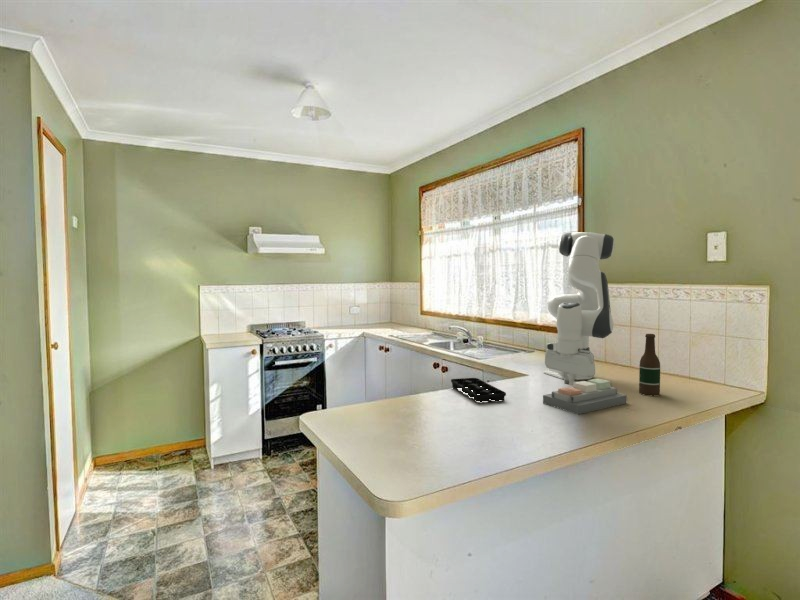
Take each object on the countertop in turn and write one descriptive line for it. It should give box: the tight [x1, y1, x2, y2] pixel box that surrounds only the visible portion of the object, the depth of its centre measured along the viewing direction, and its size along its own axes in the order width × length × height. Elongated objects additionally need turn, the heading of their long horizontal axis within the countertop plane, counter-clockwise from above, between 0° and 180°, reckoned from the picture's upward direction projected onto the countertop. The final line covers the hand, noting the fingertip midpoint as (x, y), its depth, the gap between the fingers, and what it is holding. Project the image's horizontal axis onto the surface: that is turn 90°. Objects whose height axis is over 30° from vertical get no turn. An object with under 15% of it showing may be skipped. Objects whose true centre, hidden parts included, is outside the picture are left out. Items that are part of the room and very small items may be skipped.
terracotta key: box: [557, 386, 581, 396], centre depth 164 cm, size 6×6×3 cm
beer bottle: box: [638, 333, 661, 397], centre depth 179 cm, size 8×8×24 cm
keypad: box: [542, 386, 628, 415], centre depth 168 cm, size 16×26×5 cm, turn 118°
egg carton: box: [450, 377, 507, 402], centre depth 184 cm, size 18×30×4 cm, turn 27°
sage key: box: [587, 378, 611, 390], centre depth 171 cm, size 6×6×3 cm
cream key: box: [572, 380, 596, 393], centre depth 168 cm, size 6×6×3 cm
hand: (568, 384), depth 164 cm, fingers closed
